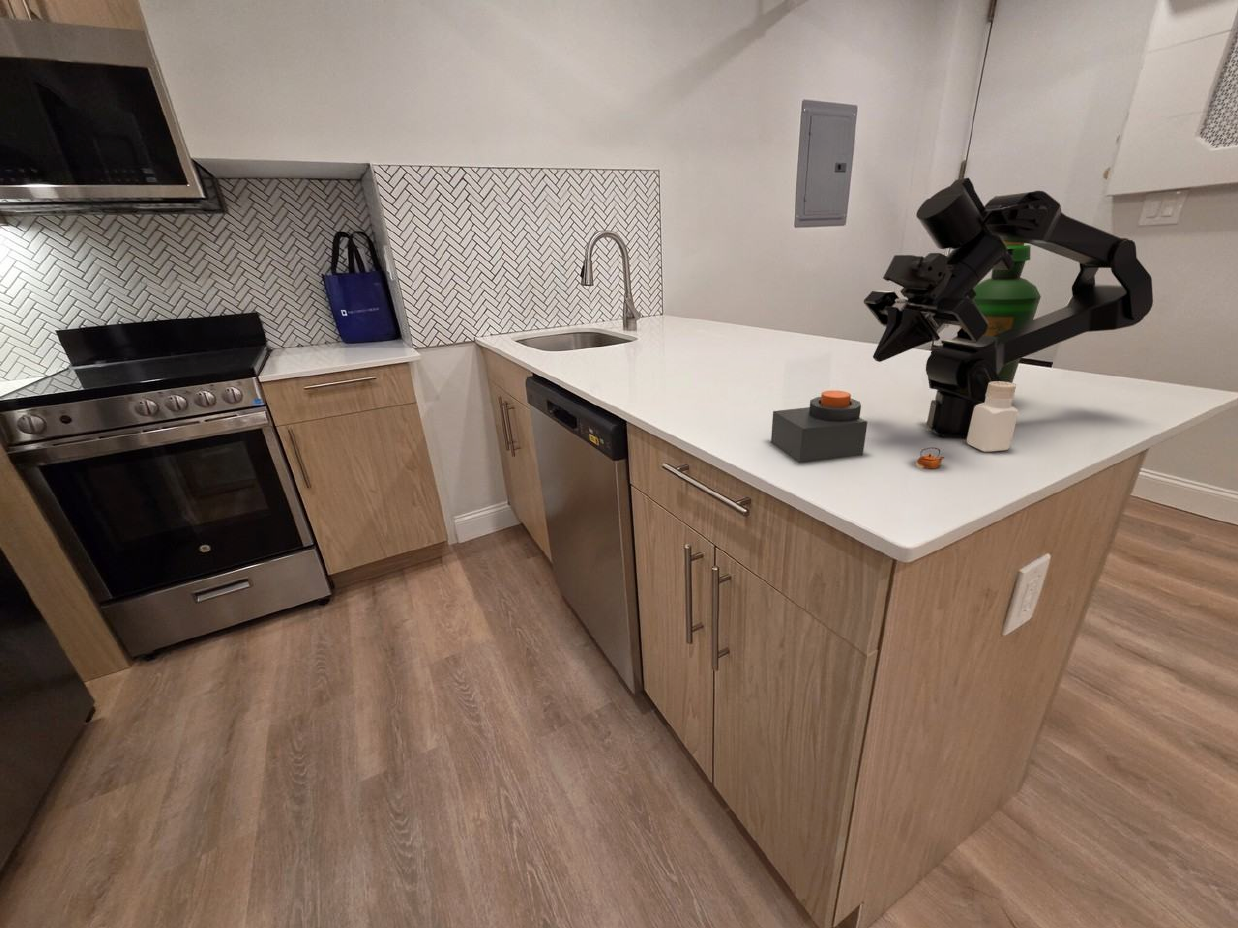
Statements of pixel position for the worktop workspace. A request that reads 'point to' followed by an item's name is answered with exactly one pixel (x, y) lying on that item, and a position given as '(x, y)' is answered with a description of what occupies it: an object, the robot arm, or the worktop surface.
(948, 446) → the worktop surface
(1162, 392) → the worktop surface
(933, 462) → the teapot
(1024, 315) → the bottle
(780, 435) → the push button base
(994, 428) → the pepper shaker
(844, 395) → the orange push button
